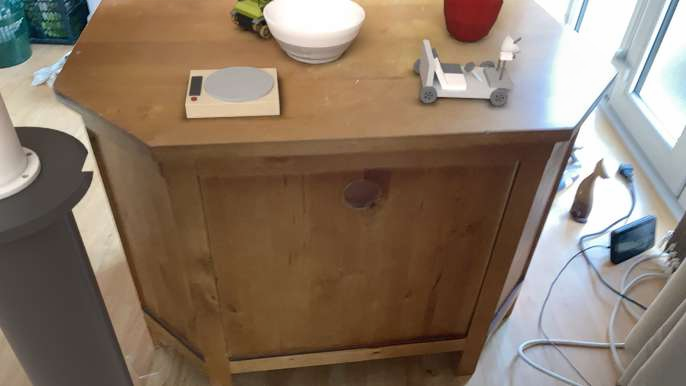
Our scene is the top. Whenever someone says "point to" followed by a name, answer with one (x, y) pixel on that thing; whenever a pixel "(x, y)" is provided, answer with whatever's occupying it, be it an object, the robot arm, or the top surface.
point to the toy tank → (251, 16)
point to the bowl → (314, 27)
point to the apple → (471, 18)
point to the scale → (232, 92)
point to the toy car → (465, 76)
